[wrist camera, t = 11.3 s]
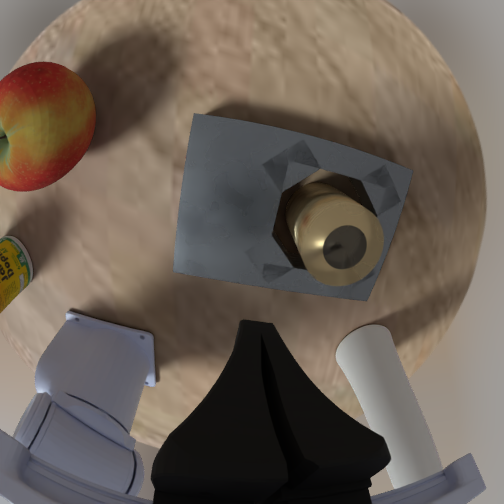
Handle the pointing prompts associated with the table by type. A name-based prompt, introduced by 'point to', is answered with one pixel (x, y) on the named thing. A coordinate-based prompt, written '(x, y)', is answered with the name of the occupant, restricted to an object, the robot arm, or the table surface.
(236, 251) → the plate
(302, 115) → the table surface
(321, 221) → the bushing
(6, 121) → the apple
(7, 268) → the supplement bottle
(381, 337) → the cosmetic bottle
